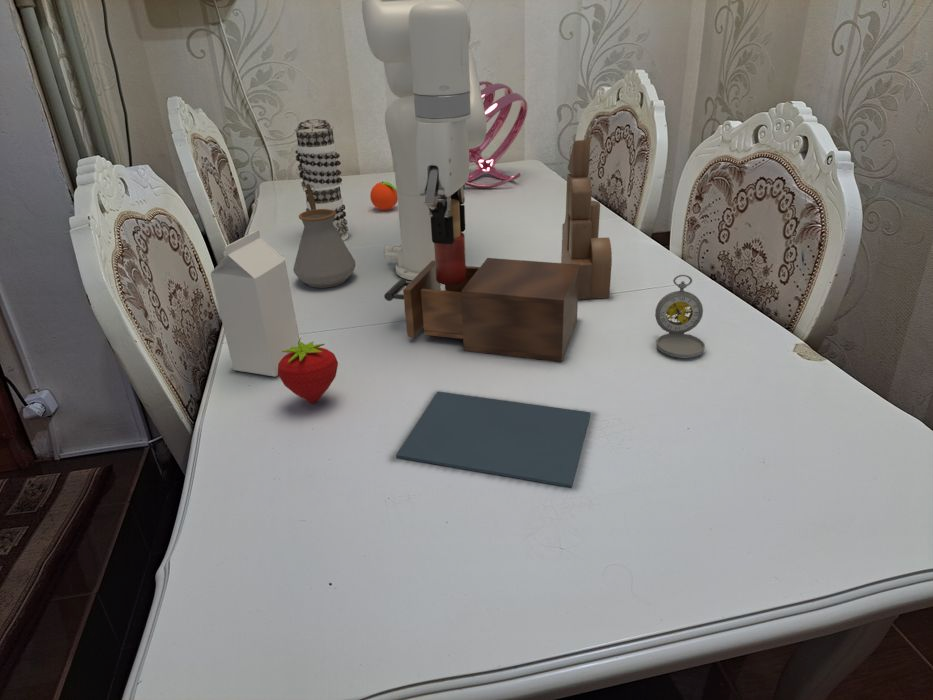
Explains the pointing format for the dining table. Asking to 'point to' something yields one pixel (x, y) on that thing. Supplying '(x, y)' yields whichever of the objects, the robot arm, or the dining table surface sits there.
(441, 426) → the mat
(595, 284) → the wooden toy
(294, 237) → the dining table surface
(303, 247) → the coffee pot
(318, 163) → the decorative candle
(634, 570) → the dining table surface
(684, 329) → the pocket watch
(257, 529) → the dining table surface
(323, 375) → the strawberry
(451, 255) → the red cylinder
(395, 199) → the clementine
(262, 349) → the milk carton
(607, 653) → the dining table surface
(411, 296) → the drawer
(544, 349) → the cabinet
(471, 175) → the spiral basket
